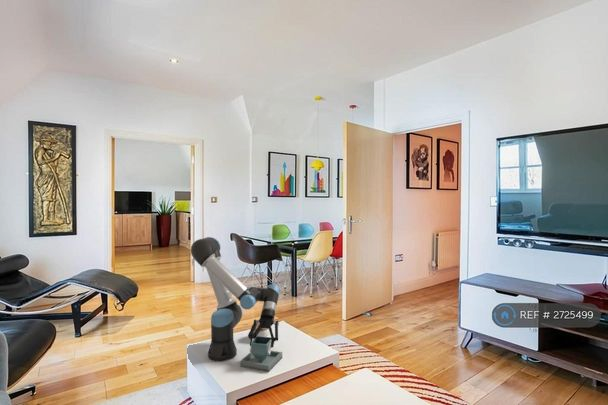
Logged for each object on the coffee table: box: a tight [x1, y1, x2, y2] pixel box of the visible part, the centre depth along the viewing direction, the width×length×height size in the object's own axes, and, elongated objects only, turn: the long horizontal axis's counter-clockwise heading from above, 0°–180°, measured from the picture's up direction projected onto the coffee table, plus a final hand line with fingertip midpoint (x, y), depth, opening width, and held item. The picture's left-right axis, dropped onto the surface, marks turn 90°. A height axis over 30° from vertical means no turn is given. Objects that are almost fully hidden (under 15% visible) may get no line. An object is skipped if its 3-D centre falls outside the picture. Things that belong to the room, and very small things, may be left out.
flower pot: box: [250, 336, 272, 360], centre depth 170 cm, size 9×9×9 cm
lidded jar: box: [251, 323, 270, 337], centre depth 201 cm, size 11×11×9 cm
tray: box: [239, 349, 283, 373], centre depth 170 cm, size 16×16×3 cm
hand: (259, 352), depth 167 cm, fingers closed on flower pot, 9 cm apart
